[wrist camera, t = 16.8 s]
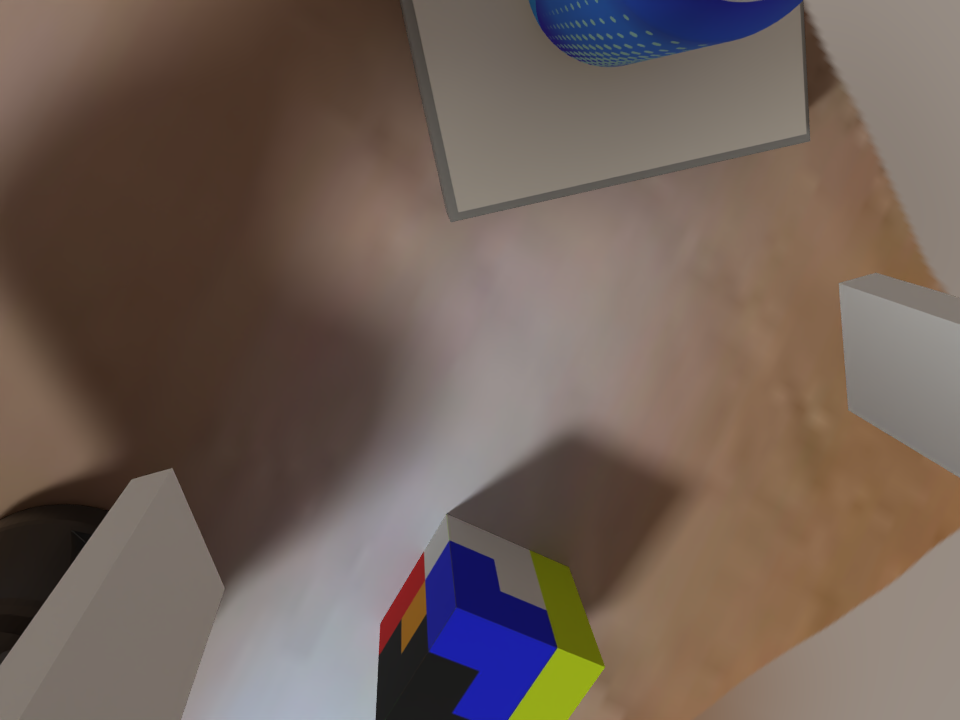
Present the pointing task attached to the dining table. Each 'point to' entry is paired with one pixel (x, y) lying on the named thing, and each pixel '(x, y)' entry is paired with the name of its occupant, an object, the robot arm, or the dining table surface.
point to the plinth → (589, 105)
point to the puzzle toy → (484, 634)
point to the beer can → (650, 26)
